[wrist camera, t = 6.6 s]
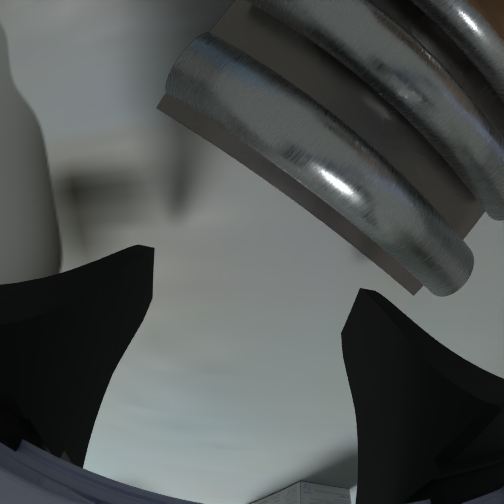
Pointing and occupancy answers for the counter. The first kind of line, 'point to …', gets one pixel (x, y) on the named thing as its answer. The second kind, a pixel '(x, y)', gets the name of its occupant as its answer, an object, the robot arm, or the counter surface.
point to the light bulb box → (308, 495)
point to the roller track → (360, 120)
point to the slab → (491, 13)
